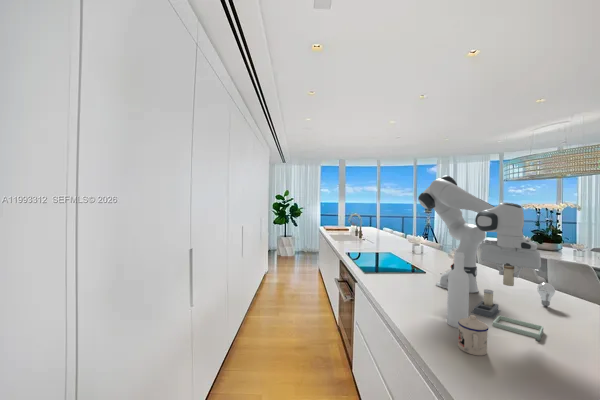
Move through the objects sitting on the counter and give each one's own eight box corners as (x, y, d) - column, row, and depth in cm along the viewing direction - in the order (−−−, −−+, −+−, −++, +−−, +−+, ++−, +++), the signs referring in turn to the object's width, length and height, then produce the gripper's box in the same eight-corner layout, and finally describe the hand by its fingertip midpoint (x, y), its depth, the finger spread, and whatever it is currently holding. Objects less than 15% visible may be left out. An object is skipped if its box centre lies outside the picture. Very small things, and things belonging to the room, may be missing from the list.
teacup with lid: (456, 341, 108) (457, 309, 108) (484, 346, 105) (485, 313, 105) (459, 356, 97) (460, 321, 97) (492, 363, 94) (493, 326, 94)
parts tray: (492, 328, 120) (492, 322, 120) (498, 320, 128) (498, 315, 128) (539, 341, 110) (539, 334, 110) (543, 332, 118) (543, 326, 118)
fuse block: (470, 314, 135) (470, 306, 135) (479, 307, 145) (479, 300, 145) (493, 320, 128) (494, 312, 128) (501, 312, 138) (501, 305, 138)
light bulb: (557, 309, 144) (558, 285, 144) (541, 308, 146) (542, 284, 146) (549, 304, 151) (549, 281, 151) (533, 303, 153) (534, 280, 153)
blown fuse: (501, 284, 121) (502, 262, 121) (504, 283, 124) (504, 261, 124) (512, 286, 118) (513, 264, 118) (515, 285, 121) (515, 263, 121)
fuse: (482, 309, 139) (483, 290, 139) (484, 307, 142) (485, 288, 141) (491, 311, 136) (492, 292, 136) (493, 309, 139) (494, 290, 139)
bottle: (442, 322, 125) (444, 251, 125) (456, 319, 128) (458, 250, 128) (458, 330, 118) (460, 254, 118) (472, 327, 121) (474, 254, 121)
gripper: (478, 239, 127) (477, 272, 127) (539, 246, 112) (538, 282, 112) (483, 238, 131) (482, 270, 131) (542, 244, 116) (541, 280, 116)
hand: (508, 276), depth 121 cm, fingers closed on blown fuse, 4 cm apart
